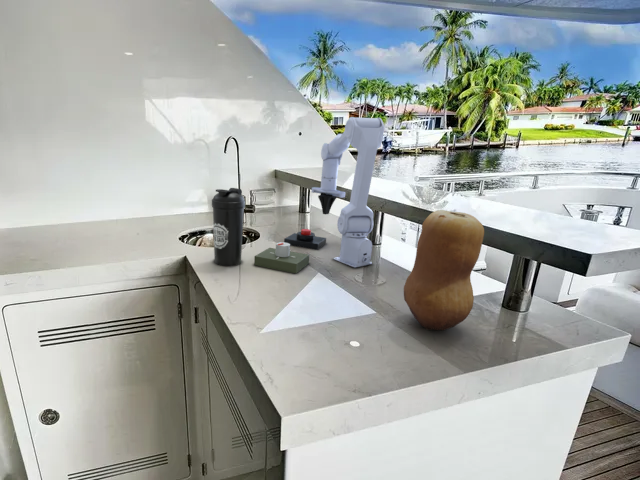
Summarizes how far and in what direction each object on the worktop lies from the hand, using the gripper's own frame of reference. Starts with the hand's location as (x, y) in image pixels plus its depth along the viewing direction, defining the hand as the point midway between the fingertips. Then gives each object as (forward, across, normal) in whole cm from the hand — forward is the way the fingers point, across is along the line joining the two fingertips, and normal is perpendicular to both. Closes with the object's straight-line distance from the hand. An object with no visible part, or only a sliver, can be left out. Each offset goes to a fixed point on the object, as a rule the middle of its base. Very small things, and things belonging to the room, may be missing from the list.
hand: (325, 213), depth 145 cm
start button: (+7, 0, -10) cm, 12 cm away
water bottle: (+11, 0, -46) cm, 48 cm away
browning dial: (+7, +12, -34) cm, 37 cm away
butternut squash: (+11, +60, -35) cm, 70 cm away
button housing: (+10, 0, -10) cm, 14 cm away
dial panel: (+10, +12, -34) cm, 37 cm away
